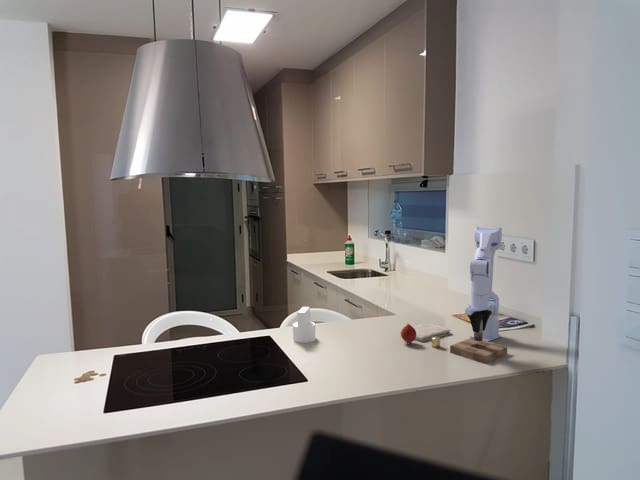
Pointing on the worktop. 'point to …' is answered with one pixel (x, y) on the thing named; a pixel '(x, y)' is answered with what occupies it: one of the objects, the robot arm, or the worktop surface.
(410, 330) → the onion
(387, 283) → the worktop surface
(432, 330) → the washcloth
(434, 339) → the short brass pin
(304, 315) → the base with upright slab
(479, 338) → the long steel pin
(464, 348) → the walnut hole plate
